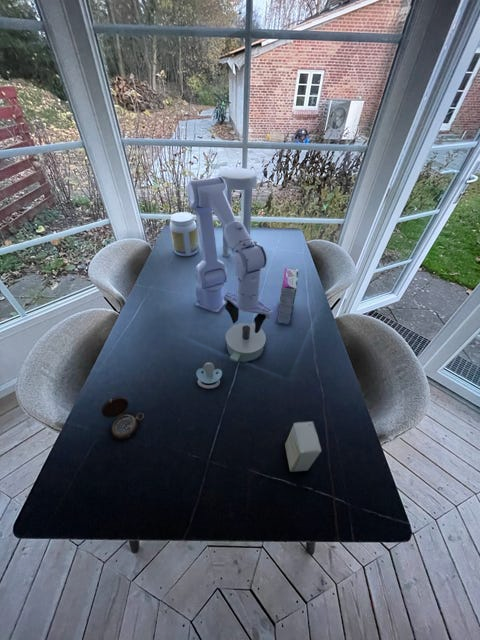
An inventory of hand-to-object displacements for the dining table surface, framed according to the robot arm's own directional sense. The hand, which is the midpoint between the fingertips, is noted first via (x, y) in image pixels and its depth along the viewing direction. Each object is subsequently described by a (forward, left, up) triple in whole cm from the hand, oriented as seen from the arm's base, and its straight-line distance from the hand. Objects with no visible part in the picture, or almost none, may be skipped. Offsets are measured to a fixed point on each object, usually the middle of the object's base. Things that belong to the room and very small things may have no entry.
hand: (246, 326), depth 79 cm
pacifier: (-4, -16, -10) cm, 19 cm away
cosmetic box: (+25, -25, -10) cm, 37 cm away
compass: (-16, -36, -10) cm, 41 cm away
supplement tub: (-52, +43, -10) cm, 68 cm away
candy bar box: (+6, +21, -10) cm, 24 cm away
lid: (0, 0, -5) cm, 5 cm away
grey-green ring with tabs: (0, 0, -10) cm, 10 cm away
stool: (-30, +54, -10) cm, 62 cm away
